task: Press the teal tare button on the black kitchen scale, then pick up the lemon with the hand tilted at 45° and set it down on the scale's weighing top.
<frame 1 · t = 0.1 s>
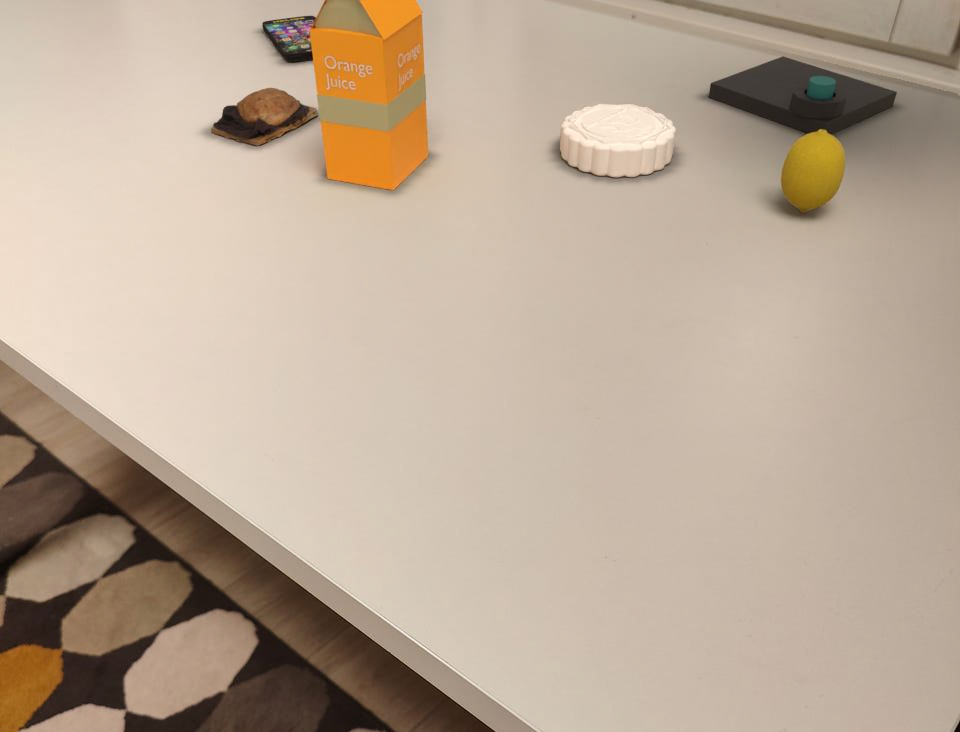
scale: (799, 101, 111), on the table
mooncake: (615, 156, 101), on the table
tare button: (821, 88, 104), point 4 cm above the table, slide at 0.1 cm
smartphone: (301, 43, 128), on the table
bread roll: (265, 125, 108), on the table
lemon: (802, 213, 91), on the table
orange juice: (379, 169, 99), on the table
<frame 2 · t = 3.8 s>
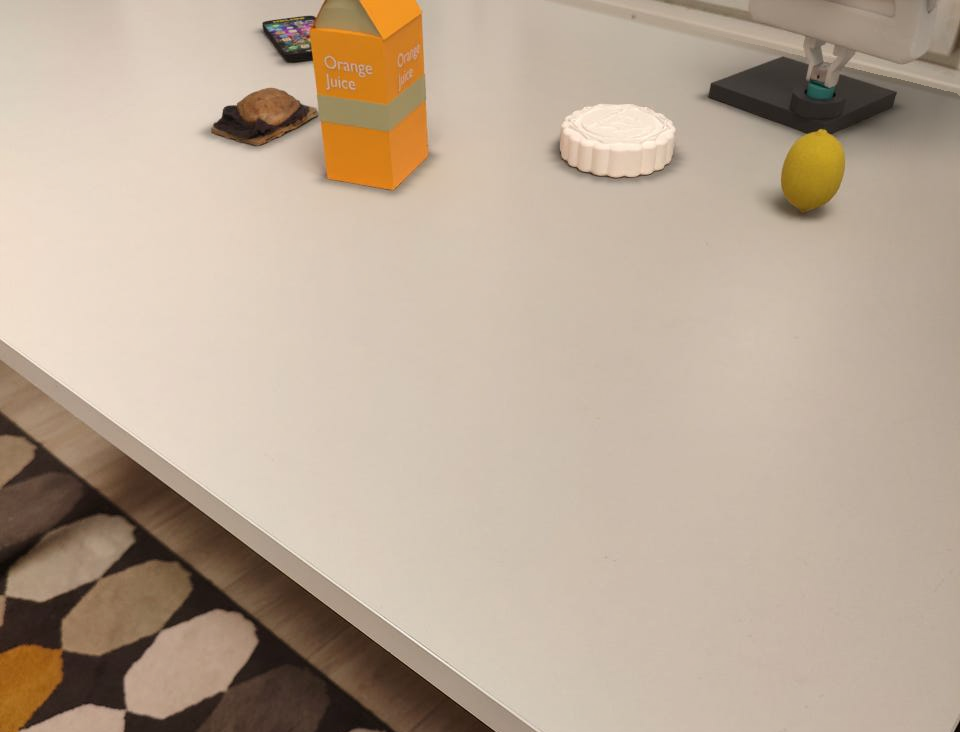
hand: (820, 83, 104), 5 cm above the table, tool pointing down, fingers closed, pressing on tare button
tare button: (820, 92, 104), point 4 cm above the table, slide at -0.3 cm, touching gripper
everything else where it was.
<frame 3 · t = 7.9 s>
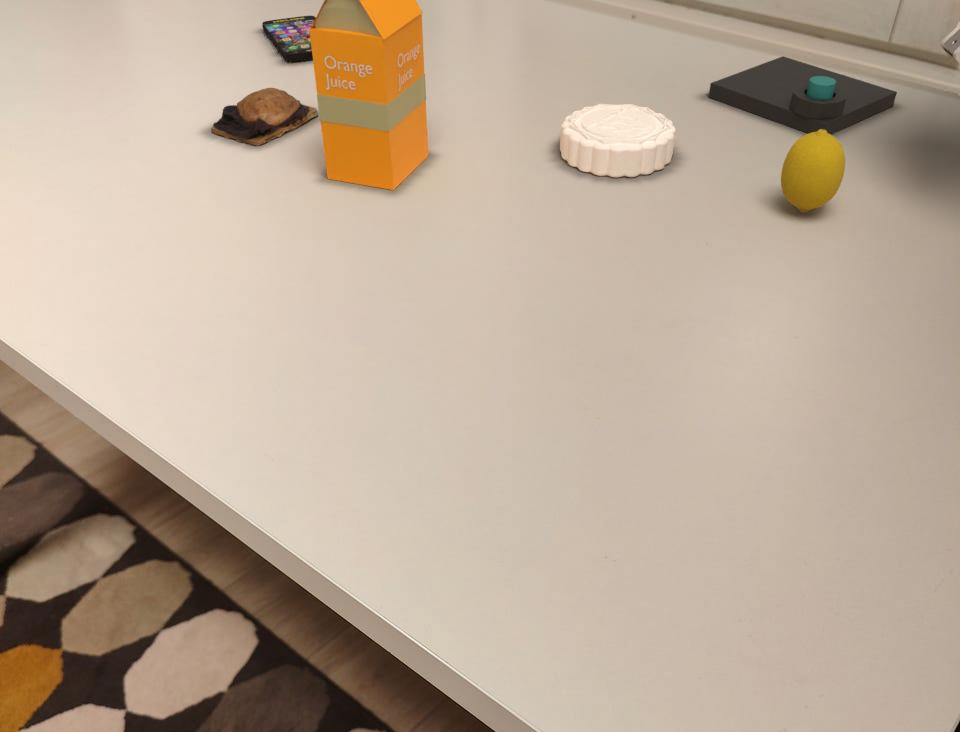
hand: (950, 56, 84), 13 cm above the table, tool tilted 40°, fingers closed
tare button: (821, 88, 104), point 4 cm above the table, slide at 0.1 cm
everything else where it was.
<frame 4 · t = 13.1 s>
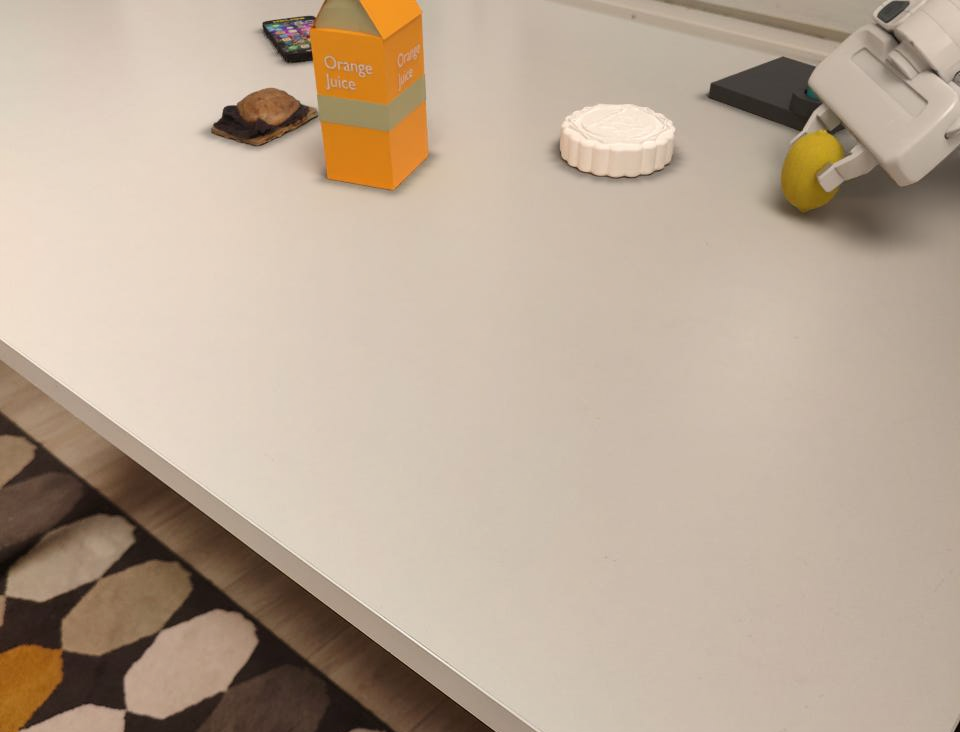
hand: (806, 168, 88), 4 cm above the table, tool tilted 45°, fingers closed on lemon, 5 cm apart
lemon: (802, 213, 91), on the table, touching gripper
everything else where it was.
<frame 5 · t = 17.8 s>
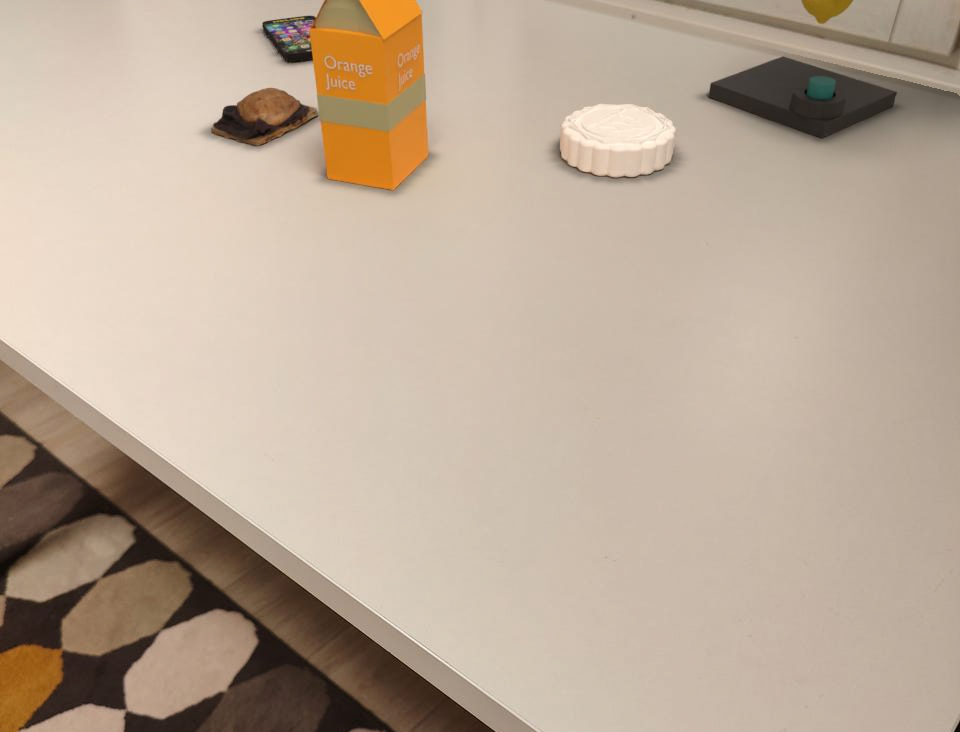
lemon: (820, 25, 96), point 12 cm above the table, touching gripper
everything else where it was.
when the fingers open (6 cm above the table, at t = 22.8 s): lemon stays where it is, resting on scale.
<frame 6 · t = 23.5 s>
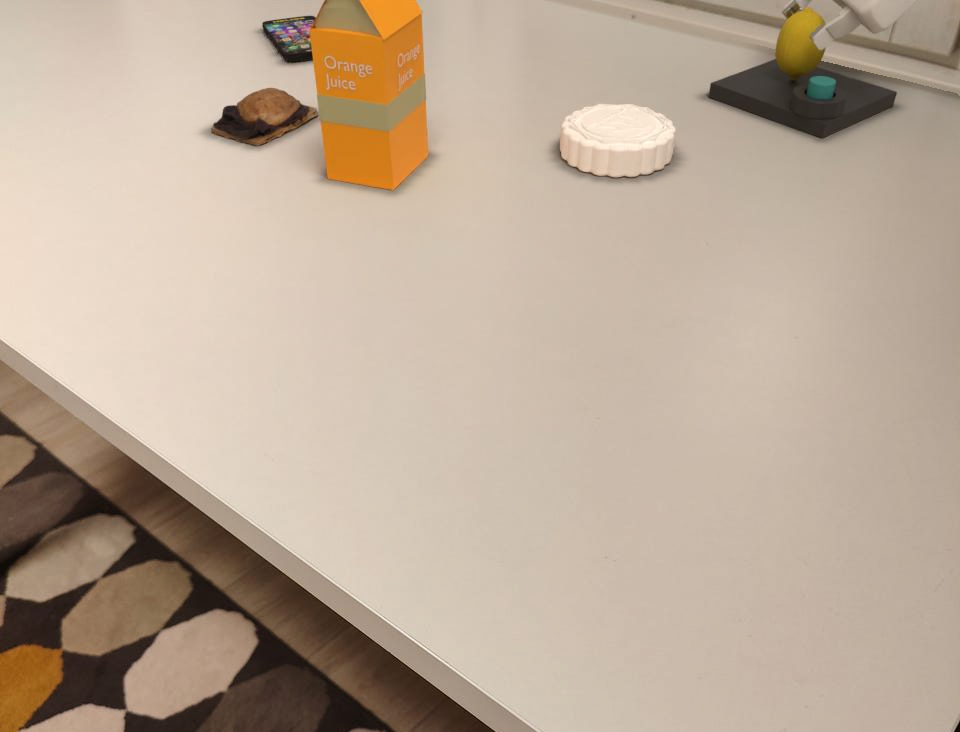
hand: (799, 30, 108), 7 cm above the table, tool tilted 45°, fingers open, 8 cm apart
lemon: (793, 81, 112), point 2 cm above the table, touching scale
everything else where it was.
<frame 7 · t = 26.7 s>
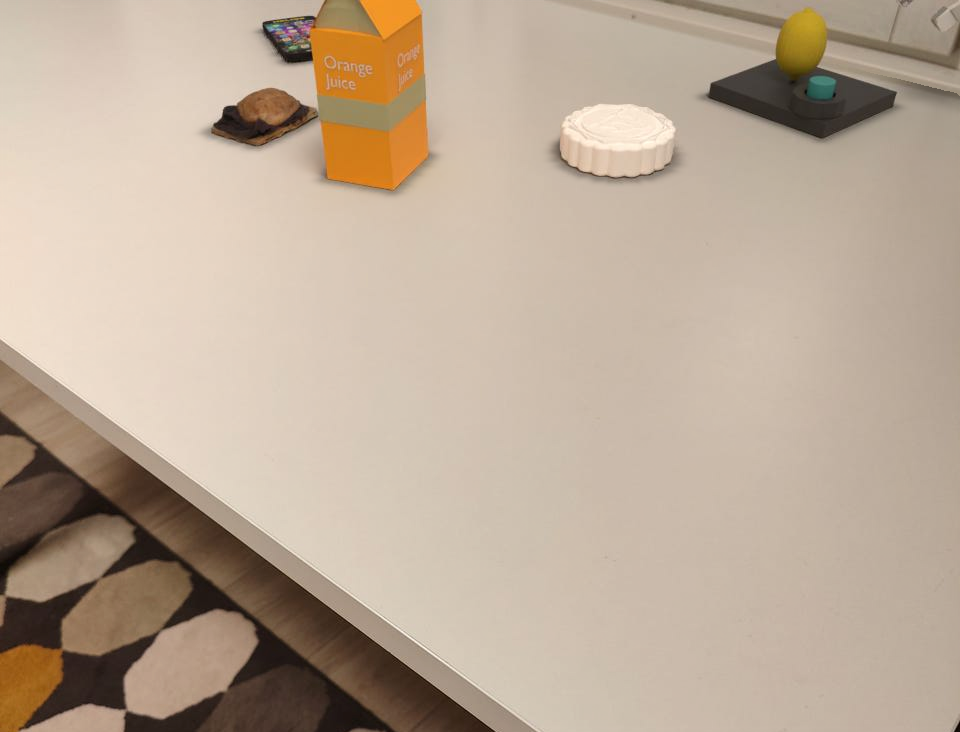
hand: (916, 13, 108), 9 cm above the table, tool tilted 45°, fingers open, 8 cm apart
nothing on the table moved.
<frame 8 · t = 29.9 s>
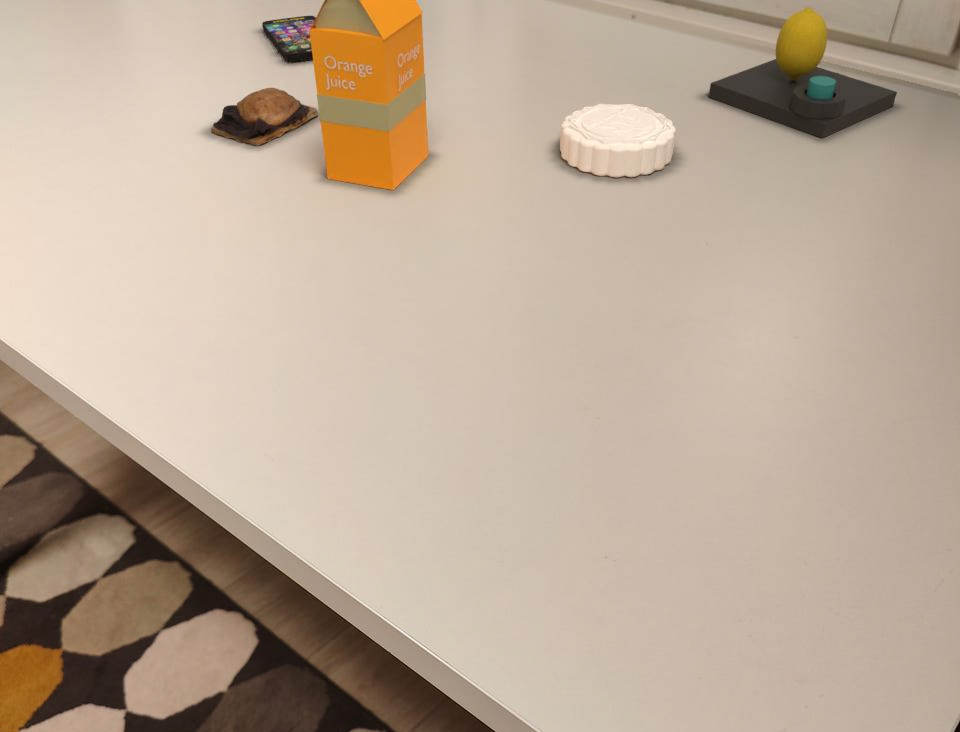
nothing on the table moved.
at the end: tare button pushed in 1.1 cm at the most during the clip, back to where it started at the end; lemon inside the target area on the scale (2.0 cm from its centre), point 1.5 cm above the scale's base; lemon touching scale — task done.
